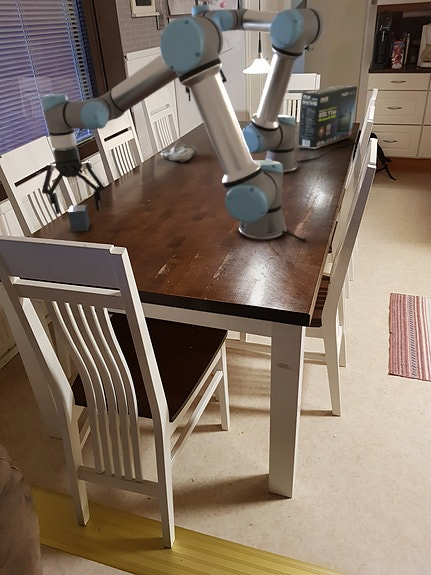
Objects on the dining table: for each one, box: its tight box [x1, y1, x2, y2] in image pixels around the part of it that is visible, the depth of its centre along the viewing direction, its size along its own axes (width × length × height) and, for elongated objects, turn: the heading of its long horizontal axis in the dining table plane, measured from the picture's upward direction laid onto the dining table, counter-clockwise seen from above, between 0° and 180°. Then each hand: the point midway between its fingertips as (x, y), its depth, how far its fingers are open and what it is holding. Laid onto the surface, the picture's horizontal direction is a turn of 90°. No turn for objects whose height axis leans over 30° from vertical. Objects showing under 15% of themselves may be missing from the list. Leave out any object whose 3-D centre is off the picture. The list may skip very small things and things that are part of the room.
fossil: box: [160, 142, 199, 163], centre depth 229 cm, size 18×11×15 cm
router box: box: [297, 84, 358, 151], centre depth 238 cm, size 36×11×27 cm, turn 134°
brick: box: [67, 204, 91, 232], centre depth 156 cm, size 5×6×7 cm
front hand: (78, 211), depth 155 cm, fingers open, 13 cm apart
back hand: (204, 100), depth 208 cm, fingers open, 13 cm apart
